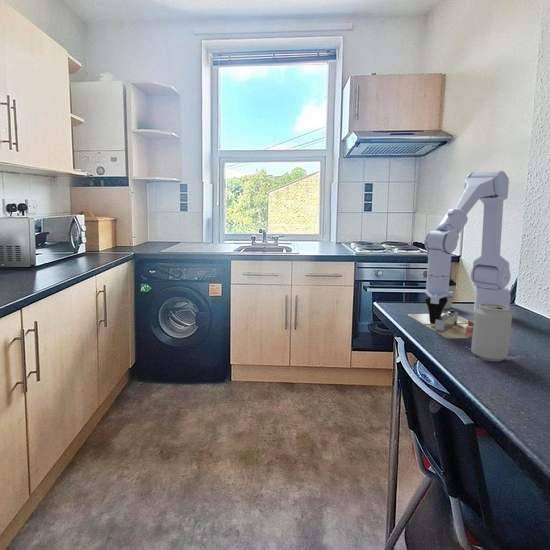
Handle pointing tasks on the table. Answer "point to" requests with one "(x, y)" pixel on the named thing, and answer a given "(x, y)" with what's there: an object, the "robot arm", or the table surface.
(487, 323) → the can
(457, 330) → the board
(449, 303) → the coffee cup
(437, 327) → the latch
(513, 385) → the table surface
